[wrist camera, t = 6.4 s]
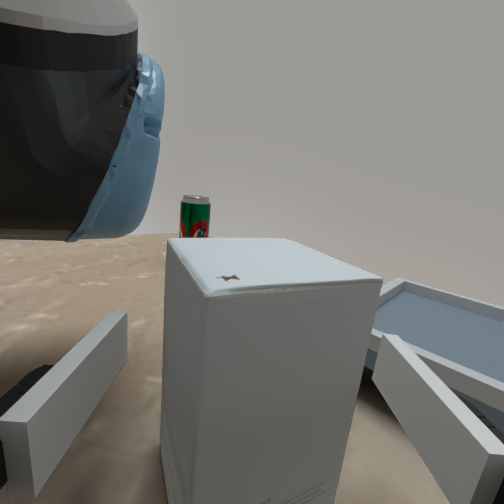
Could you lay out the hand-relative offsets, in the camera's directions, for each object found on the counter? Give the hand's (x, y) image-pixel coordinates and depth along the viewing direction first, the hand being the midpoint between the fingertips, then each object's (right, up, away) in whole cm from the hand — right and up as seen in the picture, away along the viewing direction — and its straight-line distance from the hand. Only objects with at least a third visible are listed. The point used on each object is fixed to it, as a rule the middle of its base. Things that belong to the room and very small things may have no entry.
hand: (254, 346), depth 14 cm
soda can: (-11, +3, +37) cm, 38 cm away
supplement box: (-1, -8, +1) cm, 8 cm away
